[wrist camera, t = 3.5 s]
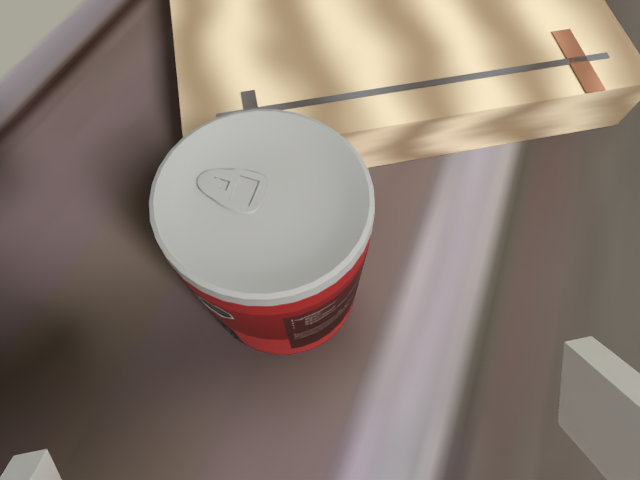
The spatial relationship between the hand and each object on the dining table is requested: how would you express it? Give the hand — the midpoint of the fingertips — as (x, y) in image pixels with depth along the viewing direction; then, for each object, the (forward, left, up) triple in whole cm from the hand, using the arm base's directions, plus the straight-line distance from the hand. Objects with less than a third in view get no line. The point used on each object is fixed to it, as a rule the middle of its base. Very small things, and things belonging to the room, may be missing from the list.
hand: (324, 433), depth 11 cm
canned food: (-1, +8, -12) cm, 15 cm away
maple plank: (+9, +25, -12) cm, 29 cm away
